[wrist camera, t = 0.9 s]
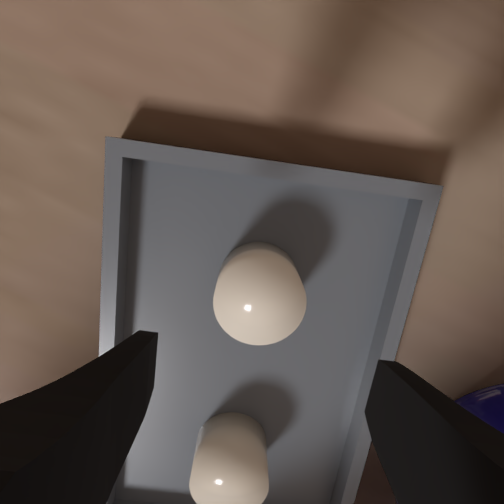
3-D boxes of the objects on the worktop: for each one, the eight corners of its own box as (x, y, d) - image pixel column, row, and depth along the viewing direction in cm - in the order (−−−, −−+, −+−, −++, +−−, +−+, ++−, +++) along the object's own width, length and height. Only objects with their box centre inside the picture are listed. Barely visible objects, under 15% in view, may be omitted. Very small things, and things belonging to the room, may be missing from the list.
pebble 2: (260, 472, 24) (262, 520, 21) (194, 465, 24) (185, 512, 20) (271, 416, 23) (274, 458, 19) (200, 408, 22) (193, 449, 19)
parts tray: (333, 522, 26) (339, 552, 24) (105, 499, 25) (93, 529, 23) (423, 182, 19) (443, 186, 17) (120, 137, 18) (105, 136, 16)
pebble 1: (290, 320, 21) (297, 350, 18) (214, 311, 21) (208, 339, 17) (303, 247, 20) (314, 265, 16) (223, 236, 19) (218, 252, 16)
